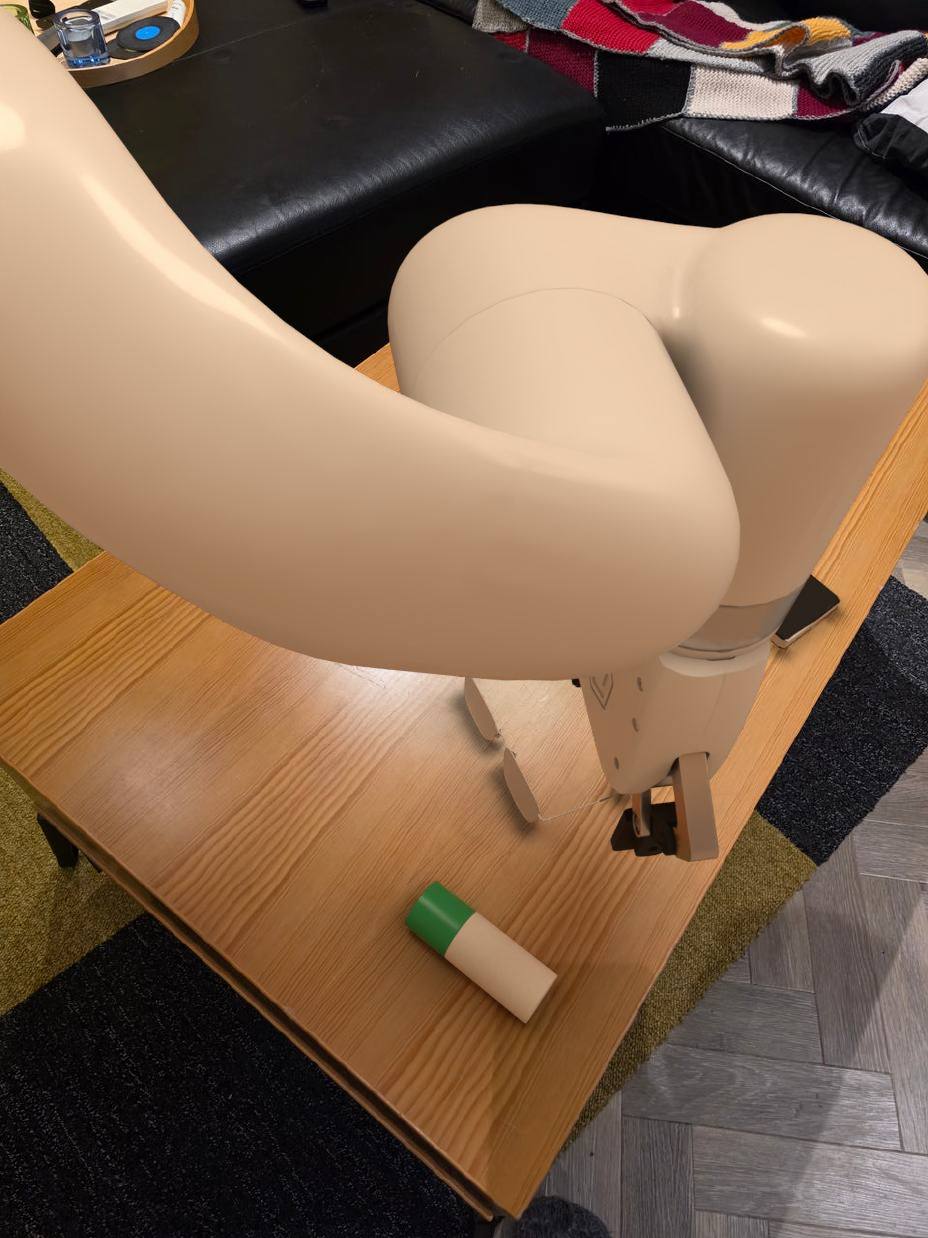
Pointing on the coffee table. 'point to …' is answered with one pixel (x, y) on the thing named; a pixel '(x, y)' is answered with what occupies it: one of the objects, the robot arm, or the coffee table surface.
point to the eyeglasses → (507, 756)
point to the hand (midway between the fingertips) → (617, 757)
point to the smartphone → (806, 611)
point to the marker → (480, 950)
